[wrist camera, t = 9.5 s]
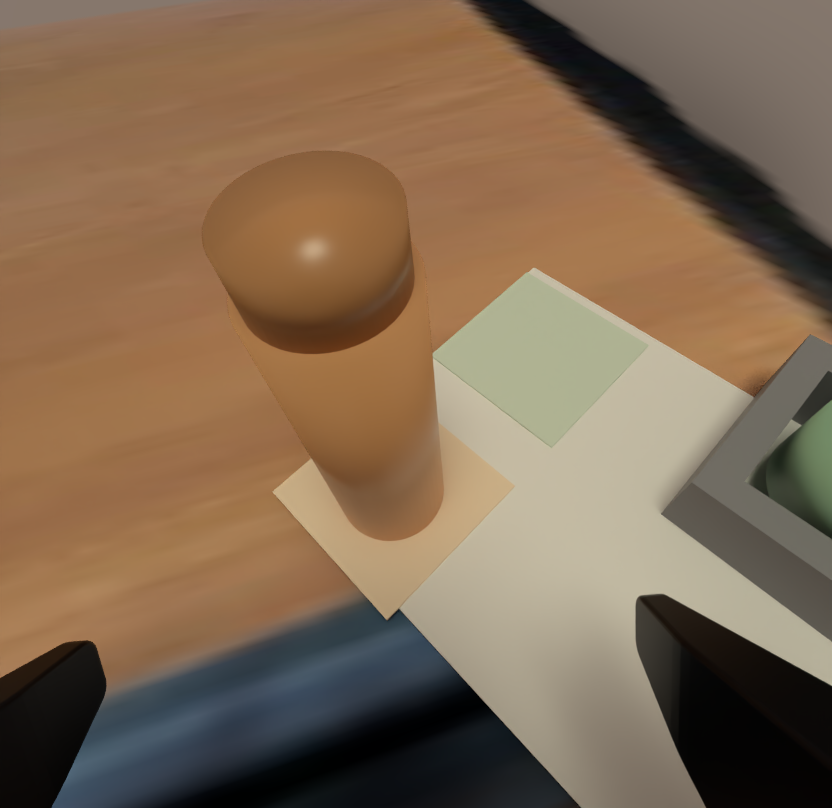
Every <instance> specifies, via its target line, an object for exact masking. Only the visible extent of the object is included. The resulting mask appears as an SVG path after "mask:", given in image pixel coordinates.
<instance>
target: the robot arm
mask: <svg viewBox="0 0 832 808" xmlns="http://www.w3.org/2000/svg"><path fill="white" fill-rule="evenodd" d="M635 639H636V647H637V651H638V654H639V657H640V660H641V662H642V665H643V667H644V670H645V672H646V675H647V677H648V680H649V682H650V685H651V687H652V690H653V692H654V695H655V697H656V700H657V702H658V705H659V707H660V710H661V712H662V715H663V717H664V720H665V722H666V725H667V727H668V730H669V732H670V735H671V737H672V740H673V742H674V744H675V747H676V749H677V752H678V754H679V756H680V758H681V760H682V762H683V764H684V766H685V768H686V770H687V772H688V774H689V776H690V778H691V780H692V782H693V784H694V786H695V788H696V789H697V791H698V793H699V795H700V797H701V799H702V801H703V803H704V805H705V807H706V808H832V685H830V684H828V683H826V682H824V681H822V680H821V679H819V678H817V677H815V676H813V675H812V674H810V673H808V672H806V671H804V670H802V669H801V668H799V667H797V666H795V665H793V664H791V663H790V662H788V661H786V660H784V659H782V658H780V657H779V656H777V655H775V654H773V653H771V652H770V651H768V650H766V649H764V648H762V647H760V646H759V645H757V644H755V643H753V642H751V641H749V640H748V639H746V638H744V637H742V636H740V635H738V634H737V633H735V632H733V631H731V630H729V629H728V628H726V627H724V626H722V625H720V624H718V623H717V622H715V621H713V620H711V619H709V618H707V617H706V616H704V615H702V614H700V613H698V612H696V611H695V610H693V609H691V608H689V607H687V606H685V605H684V604H682V603H680V602H678V601H676V600H675V599H673V598H671V597H669V596H667V595H665V594H649V595H640V596H639V597H638V598H637V600H636V605H635ZM105 692H106V678H105V674H104V671H103V668H102V664H101V661H100V658H99V654H98V651H97V648H96V645H95V644H94V643H93V642H91V641H88V640H86V641H73V642H66V643H63V644H61V645H59V646H57V647H56V648H54V649H52V650H50V651H48V652H47V653H45V654H43V655H41V656H39V657H38V658H36V659H34V660H32V661H30V662H28V663H27V664H25V665H23V666H21V667H19V668H18V669H16V670H14V671H12V672H10V673H9V674H7V675H5V676H3V677H1V678H0V808H51V807H52V805H53V803H54V801H55V800H56V798H57V796H58V794H59V792H60V790H61V788H62V786H63V784H64V782H65V780H66V778H67V775H68V773H69V771H70V769H71V767H72V765H73V763H74V760H75V758H76V756H77V754H78V752H79V750H80V748H81V745H82V743H83V741H84V739H85V737H86V735H87V733H88V731H89V728H90V726H91V724H92V722H93V720H94V718H95V716H96V713H97V711H98V709H99V707H100V705H101V703H102V701H103V698H104V696H105Z"/></svg>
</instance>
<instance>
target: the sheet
mask: <svg viewBox="0 0 832 808" xmlns="http://www.w3.org/2000/svg"><path fill="white" fill-rule="evenodd" d="M432 355H433V367H434V379H435V390H436V402H437V414H438V426H439V437H440V449H441V461H442V473H443V485H444V495H443V500H442V504H441V507H440V509H439V511H438V513H437V515H436V516H435V518H434V519H433V520H432V521H431V523H430V524H429V525H428V526H427V527H426V528H424V529H423V530H422V531H420V532H419V533H417V534H415V535H413V536H411V537H408V538H406V539H402V540H397V541H382V540H377V539H373V538H370V537H368V536H366V535H364V534H362V533H361V532H359V531H358V530H357V529H356V528H355V527H354V526H353V525H352V524H351V523H350V522H349V520H348V519H347V517H346V515H345V514H344V512H343V510H342V509H341V507H340V505H339V504H338V502H337V500H336V499H335V497H334V495H333V494H332V492H331V490H330V489H329V487H328V485H327V484H326V482H325V480H324V478H323V477H322V475H321V473H320V472H319V470H318V468H317V467H316V465H315V463H314V462H313V460H312V458H311V459H310V460H309V461H308V462H306V463H305V464H304V465H303V466H302V467H301V468H299V469H298V470H297V471H296V472H295V473H294V474H292V475H291V476H290V477H289V478H288V479H287V480H286V481H284V482H283V483H282V484H281V485H280V486H279V487H277V488H276V489H275V490H274V491H273V493H274V494H275V495H276V496H277V498H278V499H279V500H280V501H281V502H282V503H283V504H284V505H285V507H286V508H287V509H288V510H289V511H290V512H291V513H292V514H293V516H294V517H295V518H296V519H297V520H298V521H299V522H300V523H301V524H302V526H303V527H304V528H305V529H306V530H307V531H308V532H309V533H310V535H311V536H312V537H313V538H314V539H315V540H316V541H317V542H318V544H319V545H320V546H321V547H322V548H323V549H324V550H325V551H326V553H327V554H328V555H329V556H330V557H331V558H332V559H333V560H334V562H335V563H336V564H337V565H338V566H339V567H340V568H341V569H342V570H343V572H344V573H345V574H346V575H347V576H348V577H349V578H350V579H351V581H352V582H353V583H354V584H355V585H356V586H357V587H358V588H359V590H360V591H361V592H362V593H363V594H364V595H365V596H366V597H367V599H368V600H369V601H370V602H371V603H372V604H373V605H374V606H375V607H376V609H377V610H378V611H379V612H380V613H381V614H382V615H383V616H384V618H385V619H386V620H388V619H389V618H390V617H391V616H392V615H393V614H394V613H395V612H396V611H397V610H398V609H400V610H401V611H402V613H403V614H404V615H405V616H406V617H407V618H408V619H409V620H410V621H411V622H412V623H413V625H414V626H415V627H416V628H417V629H418V630H419V631H420V632H421V633H422V634H423V635H424V637H425V638H426V639H427V640H428V641H429V642H430V643H431V644H432V645H433V646H434V647H435V649H436V650H437V651H438V652H439V653H440V654H441V655H442V656H443V657H444V658H445V660H446V661H447V662H448V663H449V664H450V665H451V666H452V667H453V668H454V669H455V670H456V672H457V673H458V674H459V675H460V676H461V677H462V678H463V679H464V680H465V681H466V682H467V684H468V685H469V686H470V687H471V688H472V689H473V690H474V691H475V692H476V693H477V694H478V696H479V697H480V698H481V699H482V700H483V701H484V702H485V703H486V704H487V705H488V706H489V708H490V709H491V710H492V711H493V712H494V713H495V714H496V715H497V716H498V717H499V718H500V720H501V721H502V722H503V723H504V724H505V725H506V726H507V727H508V728H509V729H510V730H511V732H512V733H513V734H514V735H515V736H516V737H517V738H518V739H519V740H520V741H521V742H522V744H523V745H524V746H525V747H526V748H527V749H528V750H529V751H530V752H531V753H532V754H533V756H534V757H535V758H536V759H537V760H538V761H539V762H540V763H541V764H542V765H543V766H544V768H545V769H546V770H547V771H548V772H549V773H550V774H551V775H552V776H553V777H554V778H555V780H556V781H557V782H558V783H559V784H560V785H561V786H562V787H563V788H564V789H565V790H566V792H567V793H568V794H569V795H570V796H571V797H572V798H573V799H574V800H575V801H576V803H577V804H578V805H579V806H580V807H581V808H706V807H705V805H704V803H703V801H702V799H701V797H700V795H699V793H698V791H697V789H696V788H695V786H694V784H693V782H692V780H691V778H690V776H689V774H688V772H687V770H686V768H685V766H684V764H683V762H682V760H681V758H680V756H679V754H678V752H677V749H676V747H675V744H674V742H673V740H672V737H671V735H670V732H669V730H668V727H667V725H666V722H665V720H664V717H663V715H662V712H661V710H660V707H659V705H658V702H657V700H656V697H655V695H654V692H653V690H652V687H651V685H650V682H649V680H648V677H647V675H646V672H645V670H644V667H643V665H642V662H641V660H640V657H639V654H638V651H637V647H636V639H635V605H636V600H637V598H638V597H639V596H640V595H649V594H665V595H667V596H669V597H671V598H673V599H675V600H676V601H678V602H680V603H682V604H684V605H685V606H687V607H689V608H691V609H693V610H695V611H696V612H698V613H700V614H702V615H704V616H706V617H707V618H709V619H711V620H713V621H715V622H717V623H718V624H720V625H722V626H724V627H726V628H728V629H729V630H731V631H733V632H735V633H737V634H738V635H740V636H742V637H744V638H746V639H748V640H749V641H751V642H753V643H755V644H757V645H759V646H760V647H762V648H764V649H766V650H768V651H770V652H771V653H773V654H775V655H777V656H779V657H780V658H782V659H784V660H786V661H788V662H790V663H791V664H793V665H795V666H797V667H799V668H801V669H802V670H804V671H806V672H808V673H810V674H812V675H813V676H815V677H817V678H819V679H821V680H822V681H824V682H826V683H828V684H830V685H832V539H831V538H829V537H828V536H826V535H825V534H823V533H822V532H820V531H819V530H817V529H816V528H814V527H813V526H811V525H810V524H808V523H807V522H805V521H804V520H802V519H801V518H799V517H798V516H796V515H795V514H793V513H792V512H790V511H789V510H787V509H786V508H784V507H783V506H781V505H780V504H778V503H777V502H775V501H774V500H772V499H771V498H770V497H769V493H768V490H767V484H766V469H767V464H768V461H769V459H770V456H771V455H772V453H773V451H774V450H775V449H776V448H777V447H778V445H779V444H781V443H782V442H783V441H784V440H785V439H786V438H788V437H789V436H790V435H791V434H792V433H793V432H795V431H796V430H797V429H798V428H799V427H800V426H802V425H803V424H804V423H805V422H806V421H808V420H809V419H810V418H811V417H812V416H813V415H815V414H816V413H817V412H818V411H819V410H820V409H822V408H823V407H824V406H825V405H826V404H827V403H829V402H830V401H831V400H832V345H830V344H828V343H826V342H825V341H823V340H821V339H819V338H817V337H815V336H813V335H811V334H810V335H809V336H808V337H807V339H806V340H805V341H804V342H803V343H802V344H801V345H800V346H799V347H798V348H797V350H796V351H795V352H794V353H793V354H792V355H791V356H790V357H789V358H788V359H787V360H786V362H785V363H784V364H783V365H782V366H781V367H780V368H779V369H778V370H777V371H776V373H775V374H774V375H773V376H772V377H771V378H770V379H769V380H768V381H767V382H766V384H765V385H764V386H763V387H762V388H761V390H760V391H759V392H758V393H757V395H756V396H755V397H753V396H751V395H749V394H747V393H746V392H744V391H742V390H741V389H739V388H737V387H736V386H734V385H732V384H731V383H729V382H727V381H725V380H724V379H722V378H720V377H719V376H717V375H715V374H714V373H712V372H710V371H709V370H707V369H705V368H703V367H702V366H700V365H698V364H697V363H695V362H693V361H692V360H690V359H688V358H686V357H685V356H683V355H681V354H680V353H678V352H676V351H675V350H673V349H671V348H670V347H668V346H666V345H664V344H663V343H661V342H659V341H658V340H656V339H654V338H653V337H651V336H649V335H648V334H646V333H644V332H642V331H641V330H639V329H637V328H636V327H634V326H632V325H631V324H629V323H627V322H625V321H624V320H622V319H620V318H619V317H617V316H615V315H614V314H612V313H610V312H609V311H607V310H605V309H603V308H602V307H600V306H598V305H597V304H595V303H593V302H592V301H590V300H588V299H587V298H585V297H583V296H581V295H580V294H578V293H576V292H575V291H573V290H571V289H570V288H568V287H566V286H564V285H563V284H561V283H559V282H558V281H556V280H554V279H553V278H551V277H549V276H548V275H546V274H544V273H542V272H541V271H539V270H537V269H536V268H533V269H532V270H531V271H529V272H527V273H525V274H524V275H523V276H522V277H521V278H520V279H518V280H517V281H516V282H515V283H514V284H513V285H512V286H510V287H509V288H508V289H507V290H506V291H505V292H503V293H502V294H501V295H500V296H499V297H498V298H496V299H495V300H494V301H493V302H492V303H491V304H489V305H488V306H487V307H486V308H485V309H484V310H483V311H481V312H480V313H479V314H478V315H477V316H476V317H474V318H473V319H472V320H471V321H470V322H469V323H467V324H466V325H465V326H464V327H463V328H462V329H461V330H459V331H458V332H457V333H456V334H455V335H454V336H452V337H451V338H450V339H449V340H448V341H447V342H445V343H444V344H443V345H442V346H441V347H440V348H438V349H437V350H436V351H435V352H434V353H433V354H432Z"/></svg>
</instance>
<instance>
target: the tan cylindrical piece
mask: <svg viewBox="0 0 832 808" xmlns="http://www.w3.org/2000/svg"><path fill="white" fill-rule="evenodd" d="M202 242H203V247H204V250H205V252H206V255H207V257H208V258H209V260H210V262H211V264H212V266H213V267H214V269H215V271H216V273H217V274H218V276H219V278H220V280H221V282H222V283H223V285H224V287H225V289H226V291H227V292H228V296H227V308H228V314H229V318H230V320H231V323H232V325H233V327H234V329H235V330H236V332H237V334H238V336H239V337H240V339H241V341H242V342H243V344H244V346H245V347H246V349H247V351H248V352H249V354H250V356H251V357H252V359H253V361H254V362H255V364H256V366H257V367H258V369H259V371H260V373H261V374H262V376H263V378H264V379H265V381H266V383H267V384H268V386H269V388H270V389H271V391H272V393H273V394H274V396H275V398H276V399H277V401H278V403H279V404H280V406H281V408H282V410H283V411H284V413H285V415H286V416H287V418H288V420H289V421H290V423H291V425H292V426H293V428H294V430H295V431H296V433H297V435H298V436H299V438H300V440H301V441H302V443H303V445H304V447H305V448H306V450H307V452H308V453H309V455H310V457H311V458H312V460H313V462H314V463H315V465H316V467H317V468H318V470H319V472H320V473H321V475H322V477H323V478H324V480H325V482H326V484H327V485H328V487H329V489H330V490H331V492H332V494H333V495H334V497H335V499H336V500H337V502H338V504H339V505H340V507H341V509H342V510H343V512H344V514H345V515H346V517H347V519H348V520H349V522H350V523H351V524H352V525H353V526H354V527H355V528H356V529H357V530H358V531H359V532H361V533H362V534H364V535H366V536H368V537H370V538H373V539H377V540H382V541H397V540H402V539H406V538H408V537H411V536H413V535H415V534H417V533H419V532H420V531H422V530H423V529H424V528H426V527H427V526H428V525H429V524H430V523H431V521H432V520H433V519H434V518H435V516H436V515H437V513H438V511H439V509H440V507H441V504H442V500H443V495H444V485H443V473H442V461H441V449H440V437H439V426H438V414H437V402H436V390H435V379H434V367H433V355H432V343H431V331H430V320H429V308H428V296H427V284H426V273H425V266H424V263H423V259H422V257H421V255H420V253H419V251H418V249H417V248H416V247H415V245H414V244H413V243H412V242H411V238H410V229H409V220H408V210H407V201H406V196H405V192H404V189H403V187H402V185H401V183H400V182H399V180H398V179H397V178H396V176H395V175H394V174H393V173H392V172H391V171H389V170H388V169H387V168H386V167H384V166H383V165H381V164H380V163H378V162H376V161H374V160H372V159H369V158H366V157H364V156H361V155H357V154H353V153H347V152H340V151H311V152H303V153H297V154H292V155H288V156H284V157H281V158H277V159H275V160H272V161H269V162H266V163H264V164H262V165H260V166H257V167H255V168H253V169H252V170H250V171H248V172H246V173H245V174H243V175H242V176H240V177H239V178H237V179H236V180H234V181H233V182H232V183H231V184H229V185H228V186H227V187H226V188H225V189H224V190H223V191H222V192H221V193H220V194H219V195H218V196H217V198H216V199H215V200H214V201H213V203H212V205H211V206H210V208H209V210H208V212H207V214H206V216H205V219H204V222H203V227H202Z"/></svg>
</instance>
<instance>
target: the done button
mask: <svg viewBox="0 0 832 808" xmlns="http://www.w3.org/2000/svg"><path fill="white" fill-rule="evenodd" d="M766 484H767V490H768V493H769V497H770V498H771V499H772V500H774V501H775V502H777V503H778V504H780V505H781V506H783V507H784V508H786V509H787V510H789V511H790V512H792V513H793V514H795V515H796V516H798V517H799V518H801V519H802V520H804V521H805V522H807V523H808V524H810V525H811V526H813V527H814V528H816V529H817V530H819V531H820V532H822V533H823V534H825V535H826V536H828V537H829V538H831V539H832V400H831V401H830V402H829V403H827V404H826V405H825V406H824V407H823V408H822V409H820V410H819V411H818V412H817V413H816V414H815V415H813V416H812V417H811V418H810V419H809V420H808V421H806V422H805V423H804V424H803V425H802V426H800V427H799V428H798V429H797V430H796V431H795V432H793V433H792V434H791V435H790V436H789V437H788V438H786V439H785V440H784V441H783V442H782V443H781V444H779V445H778V447H777V448H776V449H775V450H774V451H773V453H772V455H771V456H770V459H769V461H768V464H767V469H766Z"/></svg>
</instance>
